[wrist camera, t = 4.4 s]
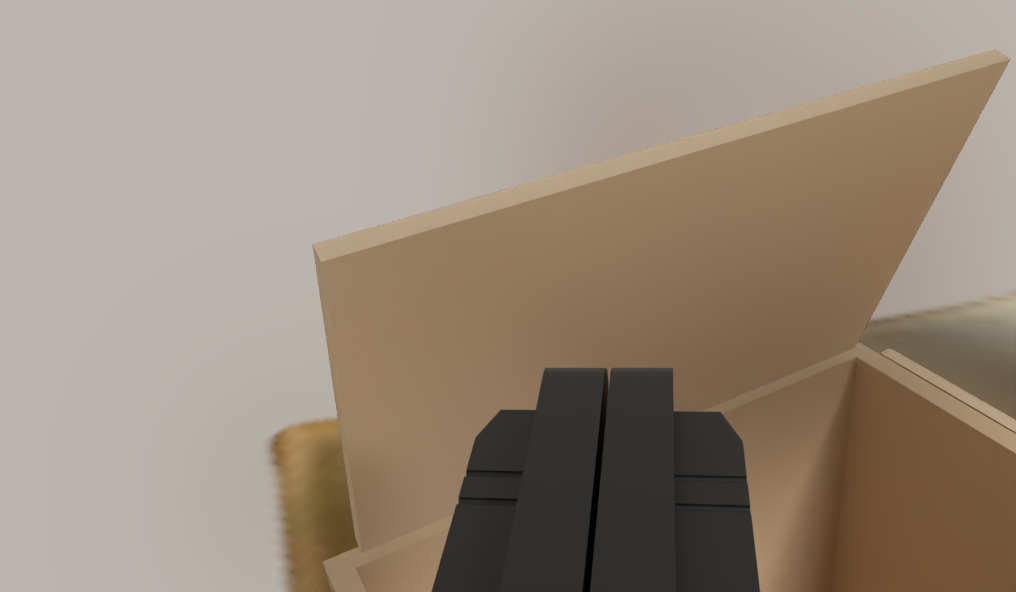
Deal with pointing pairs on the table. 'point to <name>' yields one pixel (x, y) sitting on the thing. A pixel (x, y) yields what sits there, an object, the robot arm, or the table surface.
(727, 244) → the front flap
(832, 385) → the carton
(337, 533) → the table surface
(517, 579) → the robot arm
